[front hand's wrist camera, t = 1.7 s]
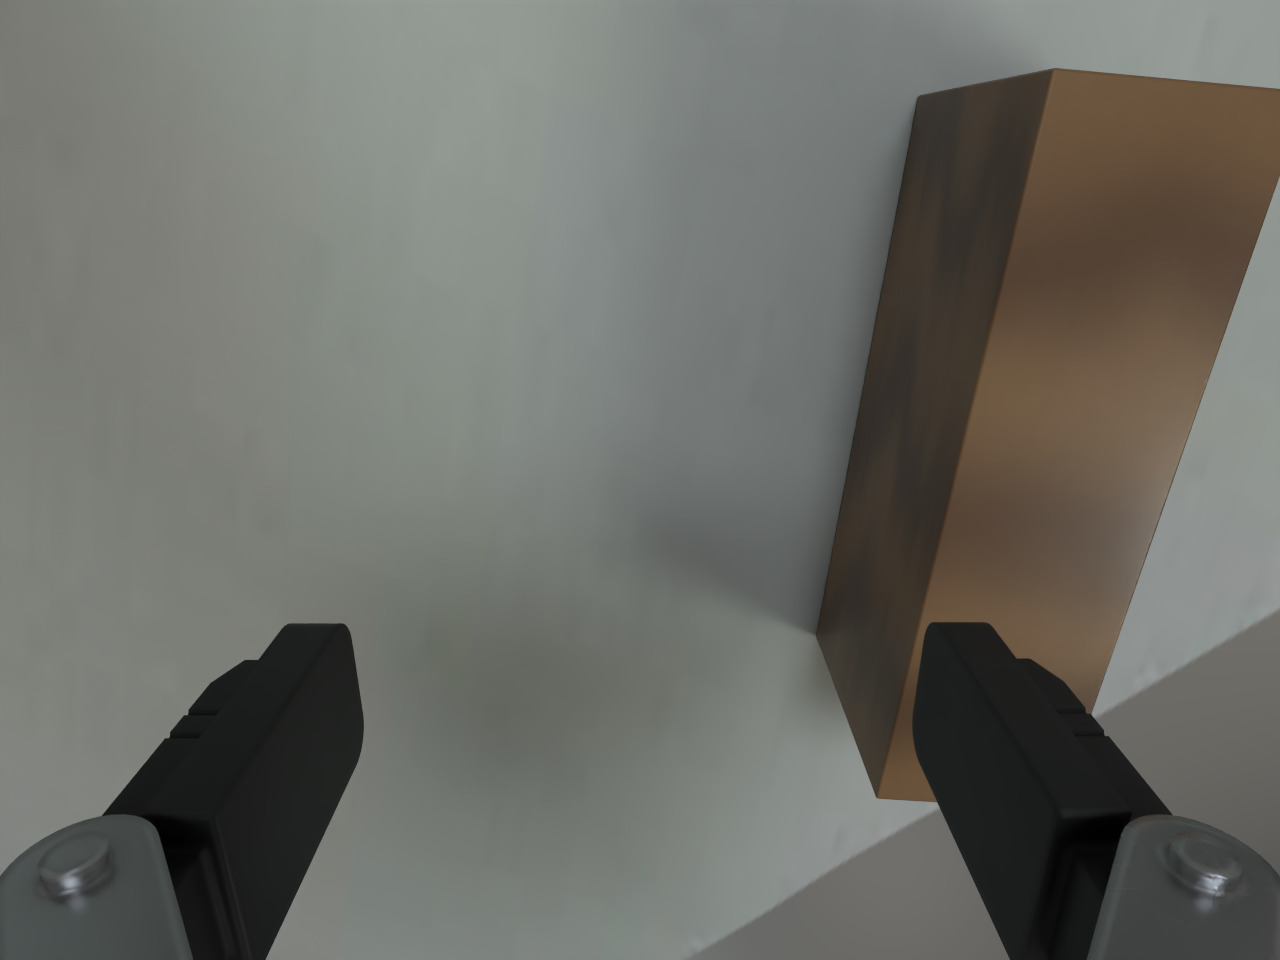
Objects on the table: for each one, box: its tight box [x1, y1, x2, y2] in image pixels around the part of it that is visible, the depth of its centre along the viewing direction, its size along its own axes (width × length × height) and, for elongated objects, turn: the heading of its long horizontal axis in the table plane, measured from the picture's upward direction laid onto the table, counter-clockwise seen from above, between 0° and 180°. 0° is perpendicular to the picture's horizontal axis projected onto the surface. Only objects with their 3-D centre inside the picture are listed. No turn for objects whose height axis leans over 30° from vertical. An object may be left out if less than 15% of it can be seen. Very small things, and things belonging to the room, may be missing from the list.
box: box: [816, 68, 1280, 802], centre depth 27 cm, size 21×6×10 cm, turn 175°
